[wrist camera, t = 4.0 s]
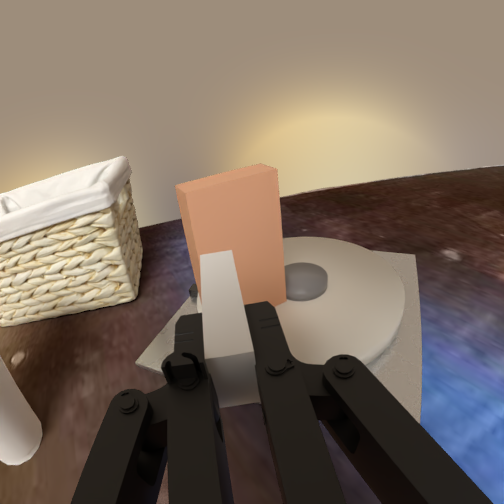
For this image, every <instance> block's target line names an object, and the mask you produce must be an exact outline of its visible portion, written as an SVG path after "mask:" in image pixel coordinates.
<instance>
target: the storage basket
mask: <svg viewBox="0 0 504 504" xmlns="http://www.w3.org/2000/svg"><path fill="white" fill-rule="evenodd" d="M131 173H132V172H131V168H130V166H129V163H128V159H127V158H126V157H125V156H120V157H116V158H115V159H112V160H108V161H104V162H100V163H95V164H92V165H88V166H84V167H81V168H78V169H74V170H72V171H68V172H65V173H62V174H59V175H56V176H53V177H50V178H47V179H45V180H41V181H38V182H35V183H32V184H29V185H26V186H23V187H20V188H17V189H14V190H11V191H9V192H5V193H2V194H0V326H1V327H5V326H15V325H18V324H22V323H29V322H32V321H37V320H38V321H40V320H44V319H47V318H52V317H53V318H56V317H58V316H62V315H67V314H75V313H79V312H83V311H86V310H94V309H97V308H101V307H106V306H114V305H116V304H120V303H125V302H130V301H132V300H134V299H135V298H136V296H137V295H138V287H139V279H140V270H141V267H142V263H141V260H142V253H143V248H142V243H141V239H140V235H139V228H138V221H137V218H136V214H135V207H134V205H133V199H132V197H131V196H132V194H131V184H130V179H129V178H130V175H131Z"/></svg>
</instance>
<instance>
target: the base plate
mask: <svg viewBox="0 0 504 504" xmlns="http://www.w3.org/2000/svg"><path fill="white" fill-rule="evenodd" d="M370 251H371V250H370ZM372 252H374V253H376V254H377V255H379V256H380V257H382V258H383V259H384V260H386V261H387V262H388V263H389V264H390V265H391V266H392V267H393V268H394V269H395V271H396V272H397V273H398V275H399V277H400V279H401V281H402V283H403V286H404V290H405V304H404V310H403V314H402V319H401V323H400V327H399V329H398V332H397V334H396V336H395V338H394V339H393V341H392V342H391V344H390V345H389V346H388V347H387V348H386V349H385V351H384V352H383V353H381V354H380V355H379V356H378V357H377V358H375V359H374V360H373V361H371V362H370V363H368V364H366V365H365V366H366V367H367V368H368V369H369V370H370V371H371V372H372V374H373V375H374V376H375V377H376V378H377V379H378V380H379V381H380V382H381V383H382V384H383V385H384V386H385V387H386V388H387V390H388V391H389V392H390V393H391V394H392V395H393V396H394V397H395V398H396V399H397V400H398V401H399V402H400V403H401V405H402V406H403V407H404V408H405V409H406V410H407V411H408V412H409V413H410V414H411V415H412V416H413V417H414V418H415V420H416V421H417V422H418V423H419V424H420V414H421V393H422V338H421V315H420V300H419V288H418V277H417V268H416V259H415V255H412V254H402V253H392V252H381V251H372ZM189 293H190V297H189V298H188V299H187V300H186V302H185V303H184V304H183V305H182V306H181V308H180V309H179V310H178V311H177V312H176V314H175V315H174V316H173V317H172V318H171V320H170V321H169V322H168V323H167V324H166V326H165V327H164V328H163V329H162V330H161V332H160V333H159V334H158V335H157V337H156V338H155V339H154V340H153V341H152V343H151V344H150V345H149V346H148V347H147V349H146V350H145V351H144V352H143V354H142V355H141V356H140V357H139V358H138V360H137V361H136V362H135V363H136V365H137V366H138V367H140V368H143V369H146V370H149V371H151V372H154V373H157V374H160V375H162V376H164V374H163V372H162V369H161V365H162V362H163V360H164V359H165V358H166V357H167V356H168V355H170V354H171V353H173V352H174V344H175V343H174V337H175V324H176V322H177V321H178V319H179V317H180V316H182V315H188V314H195V313H198V310H197V297H198V288H197V284H193V285H192V286H191V288H190V289H189ZM255 403H257V404H261V402H255Z"/></svg>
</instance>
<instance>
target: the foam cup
mask: <svg viewBox="0 0 504 504" xmlns="http://www.w3.org/2000/svg"><path fill="white" fill-rule="evenodd" d="M42 435H43V434H42V427H41V422H40V421H39V419H38V417H37V416H36V415H35V413H34V412H33V410H32V409H31V407H30V406H29V404H28V402H27V401H26V399H25V398H24V396H23V395H22V393H21V391H20V390H19V388H18V386H17V385H16V383H15V381H14V380H13V378H12V376H11V374H10V373H9V371H8V369H7V367H6V365H5V364H4V362H3V360H2V358H1V356H0V460H1V461H2V462H4V463H6V464H7V465H20V464H22V463H23V462H25V461H27V460H29V459H31V457H32V456H33V455H34V453H35V452H36V451H37V449H38V448H39V445H40V442H41V438H42Z"/></svg>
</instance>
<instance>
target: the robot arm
mask: <svg viewBox="0 0 504 504" xmlns="http://www.w3.org/2000/svg"><path fill="white" fill-rule="evenodd" d="M200 272H201V298H202V313H195V314H188V315H182V316H180V317H179V319H178V321H177V322H176V324H175V337H174V343H175V344H174V352H173V353H171V354H170V355H168V356H167V357H166V358H165V359H164V360H163V362H162V365H161V369H162V372H163V374H164V376H165V378H166V381H167V384H166V385H165V386H163V387H162V388H160V389H158V390H156V391H153V392H150V393H148V394H144V393H143V392H141V391H139V390H136V389H127V390H124V391H121V392H120V393H118V394H117V395H116V396H115V397H114V398H113V400H112V401H111V403H110V405H109V408H108V410H107V412H106V415H105V417H104V419H103V422H102V424H101V426H100V429H99V431H98V434H97V436H96V439H95V441H94V444H93V446H92V448H91V451H90V454H89V456H88V459H87V461H86V464H85V466H84V469H83V471H82V474H81V477H80V479H79V482H78V485H77V487H76V490H75V493H74V496H73V498H72V501H71V504H156V503H157V499H158V495H159V491H160V487H161V483H162V479H163V475H164V471H165V467H166V463H167V460H168V493H169V504H234V501H233V494H232V488H231V481H230V475H229V468H228V461H227V454H226V446H225V439H224V431H223V423H222V419H221V416H220V411H219V407H220V408H224V407H231V406H237V405H243V404H249V403H255V402H261V405H262V412H263V418H264V425H265V426H266V431H267V435H268V440H269V444H270V448H271V453H272V457H273V462H274V466H275V470H276V475H277V479H278V483H279V488H280V492H281V496H282V500H283V504H346V501H345V499H344V496H343V493H342V490H341V487H340V484H339V481H338V478H337V475H336V472H335V469H334V466H333V463H332V461H331V458H330V455H329V452H328V449H327V446H326V443H325V440H324V437H323V434H322V432H321V429H320V426H319V423H318V420H321V422H322V423H323V424H324V426H325V427H326V429H327V430H328V431H329V433H330V434H331V436H332V437H333V438H334V440H335V441H336V443H337V444H338V445H339V447H340V448H341V449H342V451H343V452H344V453H345V455H346V456H347V458H348V459H349V460H350V462H351V463H352V464H353V466H354V467H355V468H356V470H357V471H358V472H359V474H360V475H361V476H362V478H363V479H364V480H365V482H366V483H367V484H368V486H369V487H370V488H371V490H372V491H373V492H374V494H375V495H376V496H377V498H378V499H379V500H380V501H381V503H382V504H493V503H492V502H491V501H490V499H489V498H488V497H487V496H486V495H485V494H484V493H483V492H482V491H481V490H480V489H479V488H478V486H477V485H476V484H475V483H474V482H473V481H472V480H471V479H470V478H469V477H468V476H467V475H466V473H465V472H464V471H463V470H462V469H461V468H460V467H459V466H458V465H457V464H456V463H455V462H454V460H453V459H452V458H451V457H450V456H449V455H448V454H447V453H446V452H445V451H444V450H443V449H442V448H441V446H440V445H439V444H438V443H437V442H436V441H435V440H434V439H433V438H432V437H431V436H430V435H429V434H428V432H427V431H426V430H425V429H424V428H423V427H422V426H421V425H420V424H419V423H418V422H417V421H416V420H415V418H414V417H413V416H412V415H411V414H410V413H409V412H408V411H407V410H406V409H405V408H404V407H403V406H402V405H401V403H400V402H399V401H398V400H397V399H396V398H395V397H394V396H393V395H392V394H391V393H390V392H389V391H388V390H387V388H386V387H385V386H384V385H383V384H382V383H381V382H380V381H379V380H378V379H377V378H376V377H375V376H374V375H373V374H372V372H371V371H370V370H369V369H368V368H367V367H366V366H365V365H364V364H363V363H362V362H361V361H360V360H359V359H357V358H356V357H354V356H351V355H348V354H340V355H336V356H333V357H331V358H330V359H328V360H327V361H326V363H325V364H324V365H319V364H306V363H303V362H300V361H299V360H297V359H296V358H295V357H294V356H293V355H292V354H291V352H290V350H289V347H288V344H287V341H286V338H285V335H284V332H283V329H282V326H281V324H280V321H279V318H278V315H277V312H276V309H275V307H274V306H273V305H271V304H270V303H269V302H268V301H263V302H258V303H252V304H246V305H244V304H243V300H242V295H241V291H240V286H239V281H238V277H237V272H236V267H235V263H234V258H233V253H232V250H228V251H222V252H216V253H209V254H203V255H200Z"/></svg>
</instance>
